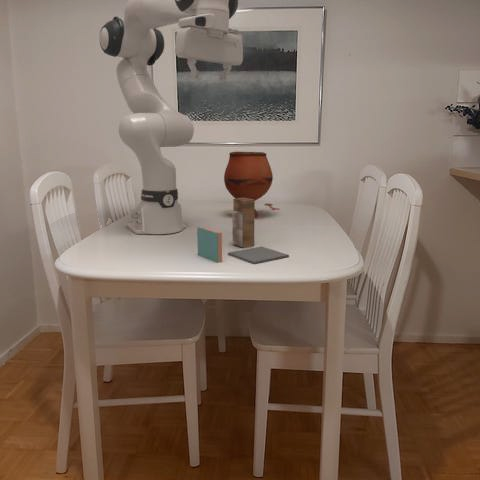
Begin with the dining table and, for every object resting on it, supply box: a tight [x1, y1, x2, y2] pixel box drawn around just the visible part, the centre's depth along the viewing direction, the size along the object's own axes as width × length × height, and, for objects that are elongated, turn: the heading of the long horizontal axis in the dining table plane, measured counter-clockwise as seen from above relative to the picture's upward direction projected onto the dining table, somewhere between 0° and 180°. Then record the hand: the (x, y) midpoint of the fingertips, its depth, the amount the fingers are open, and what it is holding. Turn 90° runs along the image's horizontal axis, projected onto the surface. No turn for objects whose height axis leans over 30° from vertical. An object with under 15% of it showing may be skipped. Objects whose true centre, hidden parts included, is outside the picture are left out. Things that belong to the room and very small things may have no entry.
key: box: [264, 203, 280, 211], centre depth 216 cm, size 6×1×15 cm
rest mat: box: [227, 245, 290, 265], centre depth 136 cm, size 12×12×1 cm
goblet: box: [223, 151, 274, 219], centre depth 192 cm, size 19×19×25 cm
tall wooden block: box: [231, 198, 256, 249], centre depth 146 cm, size 5×5×14 cm
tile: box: [196, 225, 223, 263], centre depth 133 cm, size 10×2×8 cm, turn 36°
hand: (209, 79), depth 134 cm, fingers open, 8 cm apart
